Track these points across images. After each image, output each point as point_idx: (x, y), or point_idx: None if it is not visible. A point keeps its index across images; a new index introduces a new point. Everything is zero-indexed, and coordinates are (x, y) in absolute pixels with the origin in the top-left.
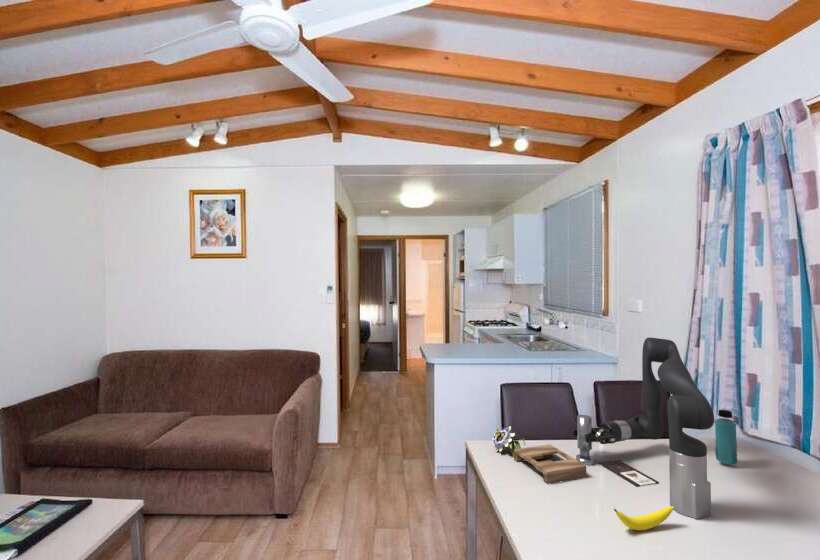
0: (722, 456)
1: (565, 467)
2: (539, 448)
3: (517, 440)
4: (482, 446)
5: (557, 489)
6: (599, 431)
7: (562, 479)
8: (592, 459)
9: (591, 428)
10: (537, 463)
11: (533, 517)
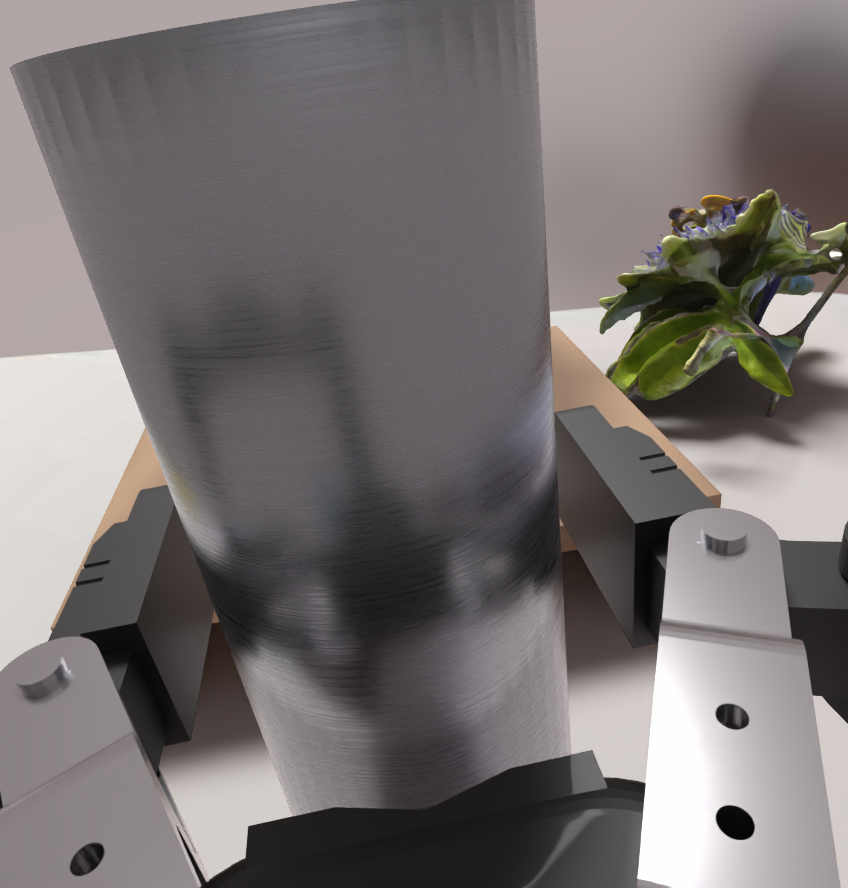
0: None
1: (144, 480)
2: None
3: (756, 336)
4: (779, 316)
5: (102, 493)
6: (133, 884)
7: None
8: None
9: (169, 464)
10: None
11: (3, 397)
